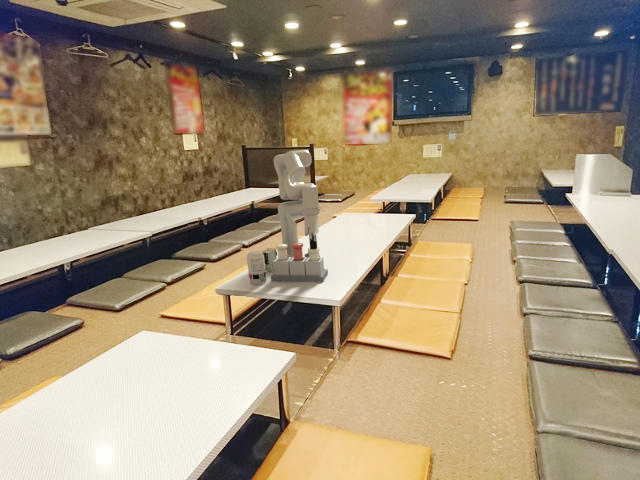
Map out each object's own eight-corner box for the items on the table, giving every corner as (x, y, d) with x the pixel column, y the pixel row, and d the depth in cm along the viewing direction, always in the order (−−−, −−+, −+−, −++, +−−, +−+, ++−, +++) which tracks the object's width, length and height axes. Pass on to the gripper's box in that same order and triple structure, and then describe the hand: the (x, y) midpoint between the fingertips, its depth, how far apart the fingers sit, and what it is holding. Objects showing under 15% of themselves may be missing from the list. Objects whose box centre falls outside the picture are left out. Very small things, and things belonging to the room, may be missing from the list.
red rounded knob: (294, 258, 211) (293, 242, 209) (305, 258, 209) (304, 242, 207) (291, 262, 205) (290, 245, 203) (302, 262, 204) (301, 245, 202)
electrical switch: (314, 269, 221) (311, 252, 219) (305, 269, 223) (303, 252, 222) (322, 264, 229) (320, 247, 227) (314, 264, 231) (311, 248, 230)
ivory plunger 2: (310, 263, 209) (309, 247, 207) (321, 263, 208) (320, 247, 206) (307, 266, 204) (306, 250, 202) (319, 266, 203) (317, 250, 201)
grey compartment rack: (278, 273, 218) (276, 255, 216) (327, 273, 212) (326, 255, 210) (271, 281, 207) (269, 262, 204) (323, 282, 201) (321, 263, 199)
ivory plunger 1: (279, 259, 213) (277, 244, 211) (290, 259, 211) (288, 244, 209) (275, 263, 207) (274, 247, 205) (286, 263, 206) (285, 247, 204)
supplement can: (246, 284, 204) (243, 254, 201) (256, 279, 211) (253, 250, 208) (260, 286, 201) (256, 256, 197) (269, 280, 208) (267, 251, 204)
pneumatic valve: (278, 267, 228) (276, 245, 225) (267, 274, 218) (265, 251, 215) (269, 266, 231) (267, 245, 228) (258, 273, 220) (256, 251, 217)
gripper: (307, 208, 208) (309, 245, 212) (299, 214, 193) (302, 253, 198) (322, 208, 206) (324, 244, 210) (315, 214, 192) (317, 253, 196)
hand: (313, 248), depth 204 cm, fingers closed
